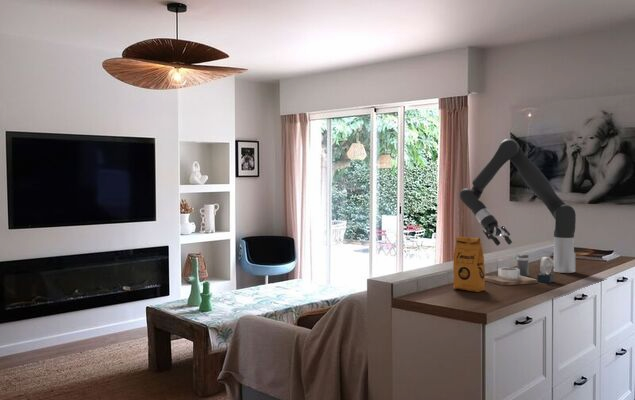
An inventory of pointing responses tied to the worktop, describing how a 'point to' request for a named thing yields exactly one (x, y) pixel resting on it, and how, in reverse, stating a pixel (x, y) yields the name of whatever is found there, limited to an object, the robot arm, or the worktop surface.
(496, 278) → the mount board
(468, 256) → the coffee package
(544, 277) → the watch
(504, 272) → the notched white ring
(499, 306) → the worktop surface
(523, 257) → the grey cylinder
